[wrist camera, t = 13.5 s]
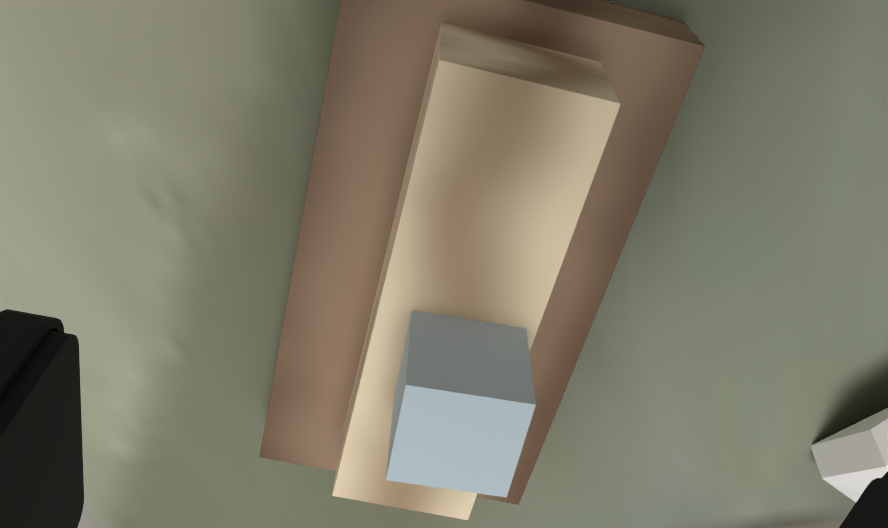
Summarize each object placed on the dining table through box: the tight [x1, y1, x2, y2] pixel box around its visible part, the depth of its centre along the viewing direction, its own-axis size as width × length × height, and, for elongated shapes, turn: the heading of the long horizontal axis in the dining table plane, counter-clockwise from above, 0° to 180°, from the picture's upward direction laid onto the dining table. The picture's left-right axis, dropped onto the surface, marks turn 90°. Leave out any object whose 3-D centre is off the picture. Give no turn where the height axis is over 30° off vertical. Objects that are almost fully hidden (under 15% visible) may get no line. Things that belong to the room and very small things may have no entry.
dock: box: [259, 0, 705, 505], centre depth 34 cm, size 12×22×3 cm, turn 166°
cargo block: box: [386, 310, 536, 498], centre depth 28 cm, size 4×4×4 cm
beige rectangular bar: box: [332, 22, 621, 520], centre depth 31 cm, size 6×18×4 cm, turn 166°
